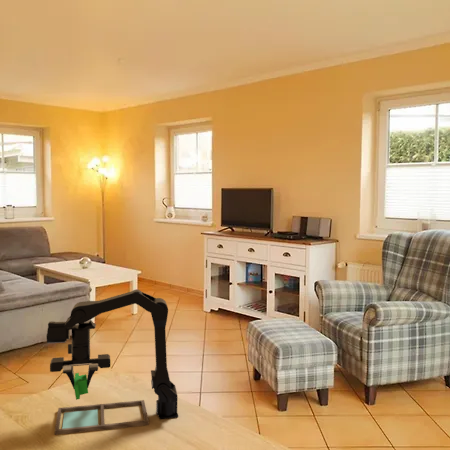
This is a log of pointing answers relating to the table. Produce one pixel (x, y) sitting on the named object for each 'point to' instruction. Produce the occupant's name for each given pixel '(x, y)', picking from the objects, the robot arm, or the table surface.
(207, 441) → the table surface
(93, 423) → the sorting frame
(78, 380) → the pipe clamp
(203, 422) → the table surface
